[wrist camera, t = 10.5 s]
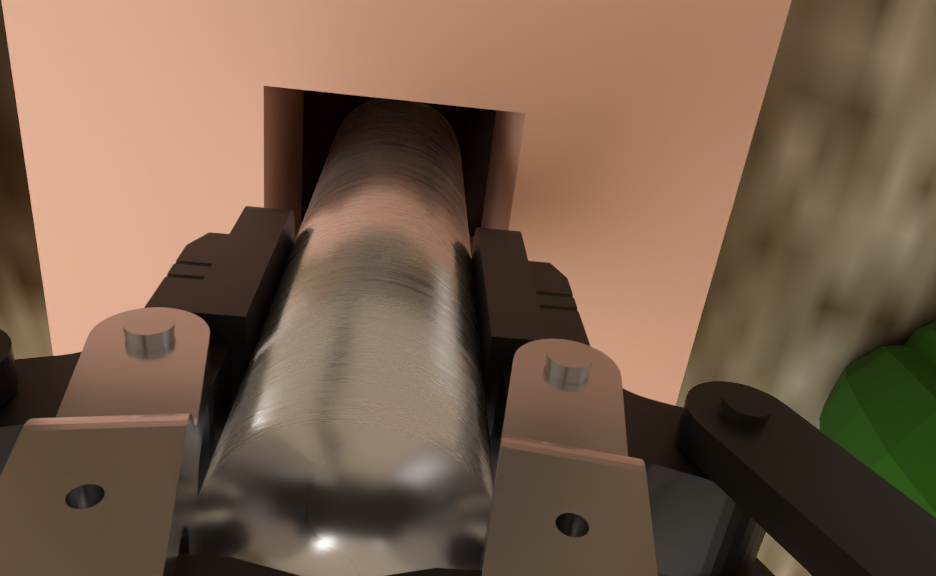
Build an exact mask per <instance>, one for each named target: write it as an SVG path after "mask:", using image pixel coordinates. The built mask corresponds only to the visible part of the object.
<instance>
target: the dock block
mask: <svg viewBox="0 0 936 576" xmlns="http://www.w3.org/2000/svg"><path fill="white" fill-rule="evenodd" d="M1 1H2V8H3V15H4V22H5V29H6V35H7V42H8V49H9V56H10V63H11V70H12V76H13V83H14V90H15V97H16V104H17V111H18V117H19V124H20V131H21V138H22V145H23V152H24V158H25V165H26V172H27V179H28V186H29V193H30V199H31V206H32V213H33V220H34V227H35V234H36V240H37V247H38V254H39V261H40V268H41V275H42V281H43V288H44V295H45V302H46V309H47V316H48V322H49V329H50V336H51V343H52V350H53V356H58V355H66V354H73V353H78V352H82V350H83V347H84V345H85V342H86V340H87V337H88V335H89V333H90V332H91V330H92V329H93V328H94V327H95V326H96V325H97V324H99V323H100V322H101V321H103V320H105V319H107V318H109V317H111V316H113V315H116V314H118V313H122V312H125V311H129V310H134V309H140V308H144V307H145V306H146V304H147V303H148V301H149V300H150V298H151V297H152V295H153V294H154V292H155V291H156V289H157V288H158V286H159V285H160V283H161V282H162V280H163V279H164V278H165V277H167V273H168V272H169V270H170V269H171V267H172V266H173V264H176V260H177V258H178V257H179V255H180V254H181V252H182V251H183V249H184V248H185V246H186V245H187V244H189V243H191V242H193V241H194V240H196V239H198V238H200V237H202V236H204V235H205V234H207V233H209V232H211V233H223V234H230V232H231V230H232V229H233V227H234V225H235V223H236V222H237V220H238V218H239V216H240V215H241V213H242V211H243V209H244V208H245V207H246V206H252V207H263V208H274V209H285V210H293V213H294V221H295V237H294V243H295V240H296V238H297V235H298V233H299V230H300V227H301V225H302V222H303V221H302V220H301V210H302V161H303V113H304V90H309V91H319V92H328V93H338V94H347V95H357V96H366V97H376V98H385V99H395V100H404V101H414V102H423V103H433V104H443V105H452V106H462V107H471V108H481V109H490V110H496V117H495V124H494V132H493V139H492V147H491V154H490V162H489V169H488V177H487V184H486V192H485V199H484V207H483V214H482V222H481V228H489V229H500V230H511V231H520V232H521V234H522V238H523V242H524V245H525V249H526V253H527V257H528V261H536V262H547V263H551V264H552V265H553V266H554V267H555V268H556V269H558V270H559V271H560V272H561V273H562V274H563V275H564V276H566V277H567V279H568V281H569V284H570V287H571V290H572V293H573V298H574V299H575V302H576V305H577V311H579V314H580V317H581V320H582V323H583V326H584V329H585V332H586V334H587V337H588V340H589V343H590V346H591V347H593V348H595V349H597V350H599V351H601V352H603V353H604V354H606V355H607V356H608V357H610V358H611V359H612V360H613V361H614V362H615V363H616V365H617V366H618V368H619V370H620V372H621V377H622V388H624V389H626V390H628V391H630V392H632V393H634V394H637V395H639V396H642V397H645V398H648V399H652V400H655V401H659V402H663V403H667V404H670V405H674V406H675V405H676V402H677V398H678V395H679V391H680V388H681V384H682V381H683V377H684V374H685V370H686V367H687V363H688V360H689V357H690V353H691V350H692V346H693V343H694V339H695V336H696V332H697V329H698V325H699V322H700V318H701V315H702V311H703V308H704V304H705V301H706V297H707V294H708V290H709V287H710V283H711V280H712V276H713V273H714V270H715V266H716V263H717V259H718V256H719V252H720V249H721V245H722V242H723V238H724V235H725V231H726V228H727V224H728V221H729V217H730V214H731V210H732V207H733V203H734V200H735V196H736V193H737V189H738V186H739V182H740V179H741V176H742V172H743V169H744V165H745V162H746V158H747V155H748V151H749V148H750V144H751V141H752V137H753V134H754V130H755V127H756V123H757V120H758V116H759V113H760V109H761V106H762V102H763V99H764V95H765V92H766V89H767V85H768V82H769V78H770V75H771V71H772V68H773V64H774V61H775V57H776V54H777V50H778V47H779V43H780V40H781V36H782V33H783V29H784V26H785V22H786V19H787V15H788V12H789V8H790V5H791V2H792V0H1ZM469 239H470V249H471V256H472V248H473V241H474V236H469Z"/></svg>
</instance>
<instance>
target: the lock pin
mask: <svg viewBox="0 0 936 576" xmlns="http://www.w3.org/2000/svg"><path fill="white" fill-rule="evenodd" d="M493 487H494V475H493V465H492V455H491V445H490V436H489V426H488V416H487V406H486V396H485V390H484V382H483V372H482V362H481V352H480V342H479V332H478V323H477V313H476V303H475V293H474V283H473V273H472V263H471V249H470V239H469V230H468V220H467V210H466V200H465V190H464V181H463V171H462V161H461V151H460V146H459V142H458V139H457V136H456V134H455V132H454V130H453V128H452V126H451V125H450V124H449V122H448V121H447V119H446V118H445V117H444V116H443V115H442V114H441V113H440V112H438V111H437V110H436V109H435V108H433V107H432V106H430V105H429V104H427V103H423V102H414V101H404V100H395V99H385V98H374V99H372V100H369V101H367V102H365V103H363V104H361V105H360V106H358V107H357V108H355V109H354V110H353V111H352V112H351V113H350V114H349V115H348V116H347V117H346V118H345V119H344V121H343V122H342V123H341V125H340V127H339V129H338V131H337V133H336V136H335V138H334V141H333V143H332V146H331V149H330V151H329V154H328V156H327V159H326V162H325V164H324V167H323V170H322V172H321V175H320V177H319V180H318V183H317V185H316V188H315V191H314V193H313V196H312V198H311V201H310V204H309V206H308V209H307V212H306V214H305V217H304V219H303V222H302V225H301V227H300V230H299V233H298V235H297V238H296V240H295V243H294V246H293V248H292V251H291V254H290V256H289V259H288V262H287V264H286V267H285V269H284V272H283V275H282V277H281V280H280V283H279V285H278V288H277V290H276V293H275V296H274V298H273V301H272V304H271V306H270V309H269V311H268V314H267V317H266V319H265V322H264V325H263V327H262V330H261V333H260V335H259V338H258V340H257V343H256V346H255V348H254V351H253V354H252V356H251V359H250V361H249V364H248V367H247V369H246V372H245V374H244V377H243V379H242V382H241V385H240V387H239V390H238V393H237V395H236V398H235V400H234V403H233V406H232V408H231V411H230V414H229V416H228V419H227V421H226V424H225V427H224V429H223V432H222V435H221V437H220V440H219V442H218V445H217V448H216V450H215V453H214V456H213V458H212V461H211V463H210V466H209V469H208V471H207V474H206V477H205V479H204V482H203V484H202V487H201V490H200V492H199V495H198V516H199V535H200V554H201V555H202V556H221V557H233V558H237V559H240V560H244V561H248V562H251V563H255V564H259V565H263V566H266V567H270V568H274V569H277V570H281V571H285V572H288V573H292V574H296V575H300V576H386V575H393V574H399V573H405V572H412V571H418V570H425V569H431V568H448V569H467V570H480V565H481V559H482V554H483V548H484V542H485V536H486V530H487V524H488V518H489V512H490V506H491V500H492V493H493Z"/></svg>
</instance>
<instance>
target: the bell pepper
mask: <svg viewBox="0 0 936 576" xmlns="http://www.w3.org/2000/svg"><path fill="white" fill-rule="evenodd" d="M820 431H821V432H822V433H824V434H825V435H826V436H828V437H829V438H830V439H832V440H833V441H834V442H836V443H837V444H838V445H840V446H841V447H842V448H844V449H845V450H846V451H848V452H849V453H850V454H852V455H853V456H854V457H856V458H857V459H858V460H860V461H861V462H862V463H864V464H865V465H866V466H867V467H869V468H870V469H871V470H873V471H874V472H875V473H877V474H878V475H879V476H881V477H882V478H883V479H885V480H886V481H887V482H889V483H890V484H891V485H893V486H894V487H895V488H897V489H898V490H899V491H901V492H902V493H903V494H905V495H906V496H907V497H909V498H910V499H911V500H913V501H914V502H915V503H917V504H918V505H919V506H920V507H922V508H923V509H924V510H926V511H927V512H928V513H930V514H931V515H932V516H934V517H935V518H936V321H935V322H933V323H930V324H928V325H925V326H923V327H920V328H918V329H917V330H916V331H915V332H914V333H913V335H912V336H911V337H910V338H909V339H908V341H907V342H906V343H905V344H904V345H894V346H881V347H879V348H877V349H876V350H874V351H872V352H871V353H869V354H867V355H865V356H864V357H862V358H860V359H858V360H857V361H855V362H853V363H851V364H850V365H848V366H846V367H845V369H844V371H843V373H842V374H841V376H840V378H839V380H838V381H837V383H836V385H835V387H834V388H833V390H832V392H831V394H830V395H829V397H828V399H827V401H826V403H825V405H824V408H823V411H822V413H821V416H820Z"/></svg>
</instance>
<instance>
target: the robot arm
mask: <svg viewBox="0 0 936 576" xmlns="http://www.w3.org/2000/svg"><path fill="white" fill-rule="evenodd" d="M294 237H295V221H294V213H293V210H285V209H274V208H263V207H252V206H246V207H245V208H244V209H243V211H242V213H241V215H240V216H239V218H238V220H237V222H236V223H235V225H234V227H233V229H232V230H231V232H230V234H223V233H211V232H209V233H207V234H205V235H204V236H202V237H200V238H198V239H196V240H194V241H193V242H191V243H189V244H187V245H186V246H185V248H184V249H183V251H182V252H181V254H180V255H179V257H178V258H177V260H176V264H173V266H172V267H171V269H170V270H169V272H168V273H167V277H165V278H164V279H163V280H162V282H161V283H160V285H159V286H158V288H157V289H156V291H155V292H154V294H153V295H152V297H151V298H150V300H149V301H148V303H147V304H146V306H145V307H144V308H140V309H134V310H129V311H125V312H122V313H118V314H116V315H113V316H111V317H109V318H107V319H105V320H103V321H101V322H100V323H99V324H97V325H96V326H95V327H94V328H93V329H92V330H91V332H90V333H89V335H88V337H87V340H86V342H85V345H84V347H83V350H82V352H78V353H73V354H66V355H58V356H48V357H38V358H28V359H18V360H14V355H13V349H12V343H11V339H10V337H9V336H8V335H7V334H6V333H5V332H4V331H2V330H0V576H300V575H296V574H292V573H288V572H285V571H281V570H277V569H274V568H270V567H266V566H263V565H259V564H255V563H251V562H248V561H244V560H240V559H237V558H233V557H221V556H202V555H201V554H200V535H199V516H198V495H199V492H200V490H201V487H202V484H203V482H204V479H205V477H206V474H207V471H208V469H209V466H210V463H211V461H212V458H213V456H214V453H215V450H216V448H217V445H218V442H219V440H220V437H221V435H222V432H223V429H224V427H225V424H226V421H227V419H228V416H229V414H230V411H231V408H232V406H233V403H234V400H235V398H236V395H237V393H238V390H239V387H240V385H241V382H242V379H243V377H244V374H245V372H246V369H247V367H248V364H249V361H250V359H251V356H252V354H253V351H254V348H255V346H256V343H257V340H258V338H259V335H260V333H261V330H262V327H263V325H264V322H265V319H266V317H267V314H268V311H269V309H270V306H271V304H272V301H273V298H274V296H275V293H276V290H277V288H278V285H279V283H280V280H281V277H282V275H283V272H284V269H285V267H286V264H287V262H288V259H289V256H290V254H291V251H292V248H293V246H294ZM471 263H472V273H473V283H474V293H475V303H476V313H477V323H478V332H479V342H480V352H481V362H482V372H483V382H484V390H485V396H486V406H487V416H488V426H489V436H490V445H491V455H492V465H493V475H494V487H493V493H492V500H491V506H490V512H489V518H488V524H487V530H486V536H485V542H484V548H483V554H482V559H481V565H480V570H467V569H448V568H431V569H425V570H418V571H412V572H405V573H399V574H393V575H386V576H775V575H774V574H773V573H772V572H771V571H770V570H769V569H768V568H767V567H766V566H765V565H764V564H763V563H762V562H761V561H760V560H759V559H757V558H756V556H757V553H758V551H759V548H760V546H761V543H762V540H763V538H764V535H765V533H766V532H767V533H768V534H769V535H770V536H771V537H772V538H774V539H775V540H776V541H777V542H778V543H779V544H780V545H781V546H782V547H783V548H784V549H785V550H786V551H787V552H788V553H789V554H790V555H792V556H793V557H794V558H795V559H796V560H797V561H798V562H799V563H800V564H801V565H802V566H803V567H804V568H805V569H806V570H807V571H808V572H809V573H810V574H811V575H812V576H936V518H935V517H934V516H932V515H931V514H930V513H928V512H927V511H926V510H924V509H923V508H922V507H920V506H919V505H918V504H917V503H915V502H914V501H913V500H911V499H910V498H909V497H907V496H906V495H905V494H903V493H902V492H901V491H899V490H898V489H897V488H895V487H894V486H893V485H891V484H890V483H889V482H887V481H886V480H885V479H883V478H882V477H881V476H879V475H878V474H877V473H875V472H874V471H873V470H871V469H870V468H869V467H867V466H866V465H865V464H864V463H862V462H861V461H860V460H858V459H857V458H856V457H854V456H853V455H852V454H850V453H849V452H848V451H846V450H845V449H844V448H842V447H841V446H840V445H838V444H837V443H836V442H834V441H833V440H832V439H830V438H829V437H828V436H826V435H825V434H824V433H822V432H821V431H820V430H818V429H817V428H816V427H814V426H813V425H812V424H810V423H809V422H808V421H807V420H805V419H804V418H803V417H801V416H800V415H799V414H797V413H796V412H795V411H793V410H792V409H791V408H789V407H788V406H787V405H785V404H784V403H782V402H781V401H780V400H778V399H777V398H775V397H773V396H771V395H769V394H767V393H765V392H763V391H761V390H758V389H755V388H753V387H750V386H746V385H742V384H738V383H732V382H723V381H713V382H706V383H702V384H699V385H697V386H695V387H693V388H692V389H691V390H690V391H689V392H688V394H687V397H686V400H685V403H684V407H683V408H682V407H678V406H674V405H670V404H667V403H663V402H659V401H655V400H652V399H648V398H645V397H642V396H639V395H637V394H634V393H632V392H630V391H628V390H626V389H624V388H622V377H621V372H620V370H619V368H618V366H617V365H616V363H615V362H614V361H613V360H612V359H611V358H610V357H608V356H607V355H606V354H604V353H603V352H601V351H599V350H597V349H595V348H593V347H591V346H590V343H589V340H588V337H587V334H586V332H585V329H584V326H583V323H582V320H581V317H580V314H579V311H577V305H576V302H575V299H574V298H573V293H572V290H571V287H570V284H569V281H568V279H567V277H566V276H564V275H563V274H562V273H561V272H560V271H559V270H558V269H556V268H555V267H554V266H553V265H552V264H551V263H547V262H536V261H528V257H527V253H526V249H525V245H524V242H523V238H522V234H521V232H520V231H511V230H500V229H489V228H478V227H477V228H476V231H475V235H474V241H473V248H472V256H471Z"/></svg>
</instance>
